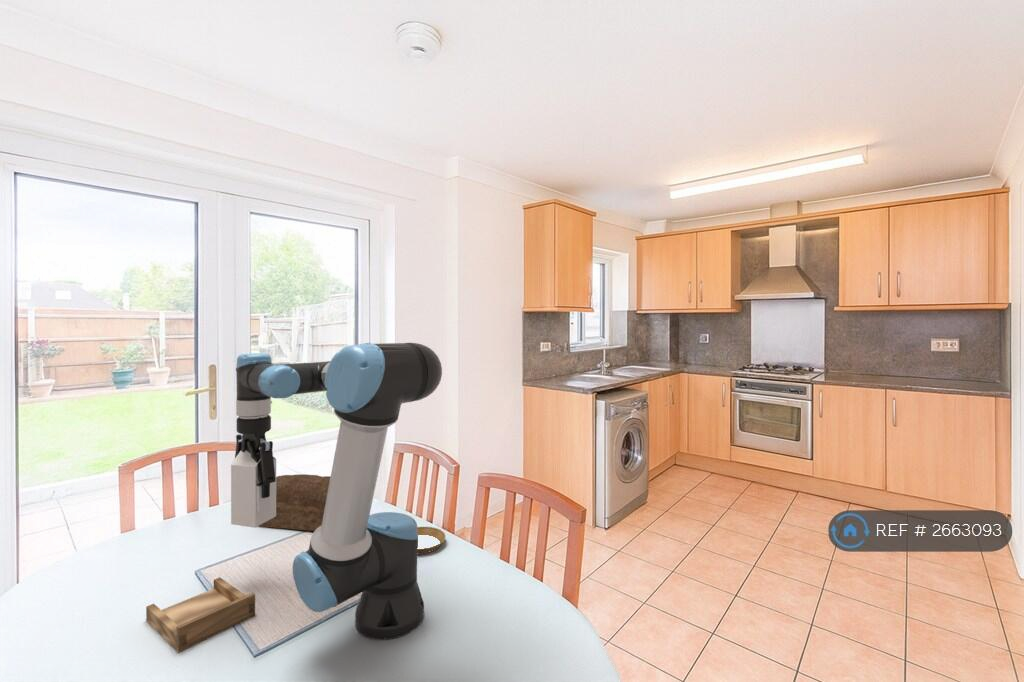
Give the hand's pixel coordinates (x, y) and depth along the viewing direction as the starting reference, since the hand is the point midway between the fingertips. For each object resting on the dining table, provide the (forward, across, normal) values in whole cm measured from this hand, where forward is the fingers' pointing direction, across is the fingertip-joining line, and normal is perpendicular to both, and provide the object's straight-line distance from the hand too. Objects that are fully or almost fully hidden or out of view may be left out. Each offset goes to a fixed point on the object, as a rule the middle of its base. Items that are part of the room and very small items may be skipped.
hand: (253, 505), depth 118 cm
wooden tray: (+20, -4, +13) cm, 25 cm away
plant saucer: (+21, -16, -41) cm, 49 cm away
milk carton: (+4, 0, 0) cm, 4 cm away
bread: (+21, +24, -29) cm, 43 cm away
